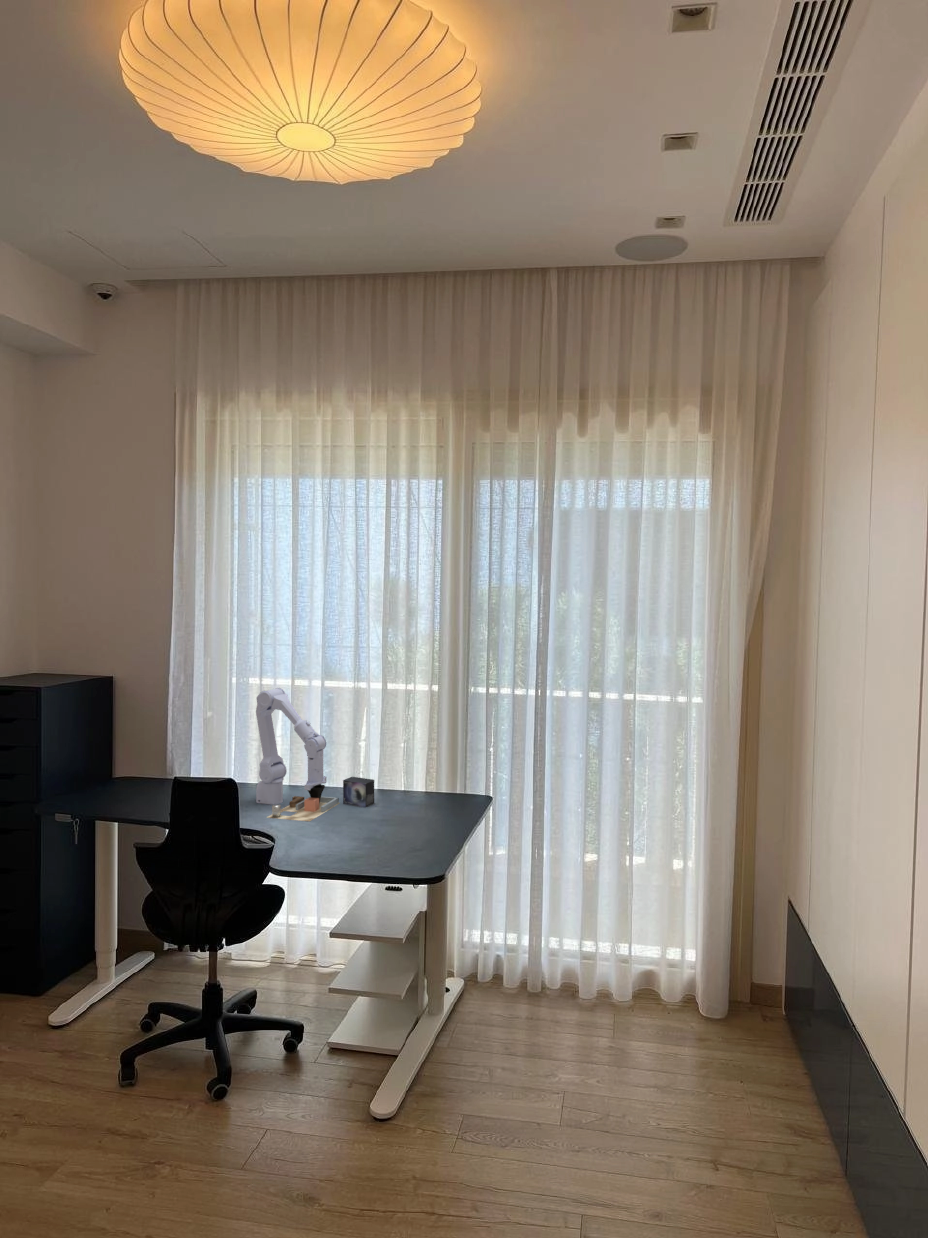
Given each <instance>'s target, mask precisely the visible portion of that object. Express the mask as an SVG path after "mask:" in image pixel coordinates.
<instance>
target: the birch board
mask: <svg viewBox="0 0 928 1238" xmlns="http://www.w3.org/2000/svg"><path fill="white" fill-rule="evenodd" d="M325 804H326V803H322V802H320V803H319V809H318V810H317V811H315V812H312V811H304V807H303V808H301V809H300V810H296V807H290V804H288V805H286V806H285V807H283V808H281V813H283V812H291V813H294V814H292V815H281V817H279V818H275V819H277V820H278V819H279V820H289V821H299V822H300V821H301V822H311V821H313V820H315V819H316V818H318V817H320V816H321V815H323V814H324V813H326V812H328V811H330V810H331V809H334V807H336V806H338V805H339V804H341V802H339V803H338V804H336V805H335V806H333V807H331V808H330V809H328V810H326V811H325V812H321V806H323V805H325ZM266 818H267V819H268V818H269V819H274V818H273V817H272V814H270V815H268V816H266Z"/></svg>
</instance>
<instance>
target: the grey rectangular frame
mask: <svg viewBox="0 0 928 1238" xmlns="http://www.w3.org/2000/svg"><path fill="white" fill-rule="evenodd" d="M304 800H305V799H304ZM304 800H303V801H301V802H300V803H298V804H296V810H300V809H301V808H303V807H304ZM339 800H340V799H339V797H333V796H322V795H321V799H320V802H322V803H326V804H325V805H323V806H321V812H325V811H326V810H328V809H330V808H331V807H333V806H335V805H336V804H338V803H340V802H339ZM338 805H339V804H338ZM336 806H337V805H336ZM336 806H335V807H336ZM333 808H334V807H333ZM331 809H332V808H331ZM331 809H330V810H331ZM328 811H329V810H328ZM326 812H327V811H326ZM326 812H325V813H326Z"/></svg>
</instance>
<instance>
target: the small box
mask: <svg viewBox="0 0 928 1238" xmlns="http://www.w3.org/2000/svg"><path fill="white" fill-rule="evenodd" d="M342 785H343V786H342V787H343V789H342V794H343V795H342V799H343V800H342V801H343V802H342V803H343V805H348V806H354V807H359V808H360V807H361V808H368V807H370V806H372V805H375V779H373V778H372V779H371V778H364V777H359V776H358V777H357V776H351V777H348V778H345V779H343V780H342Z"/></svg>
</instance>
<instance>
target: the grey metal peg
mask: <svg viewBox="0 0 928 1238" xmlns="http://www.w3.org/2000/svg"><path fill="white" fill-rule="evenodd" d="M281 806H282V805H281V804H271V815H272V817H273V818H272V819H276V818H279V817H281V814H282V812H281V809H282V808H281Z"/></svg>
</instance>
